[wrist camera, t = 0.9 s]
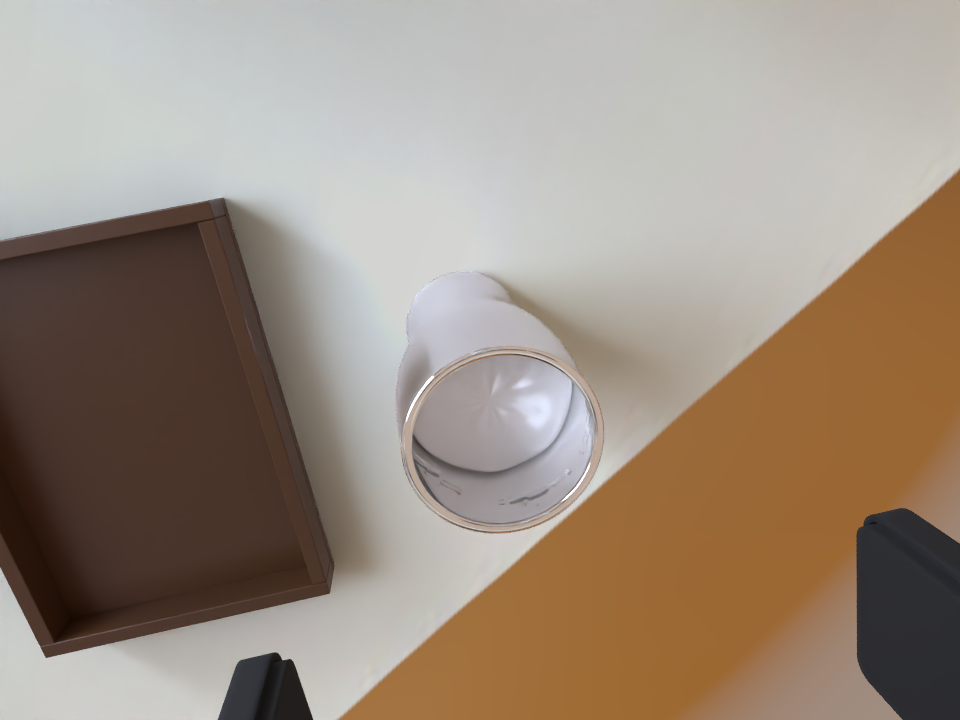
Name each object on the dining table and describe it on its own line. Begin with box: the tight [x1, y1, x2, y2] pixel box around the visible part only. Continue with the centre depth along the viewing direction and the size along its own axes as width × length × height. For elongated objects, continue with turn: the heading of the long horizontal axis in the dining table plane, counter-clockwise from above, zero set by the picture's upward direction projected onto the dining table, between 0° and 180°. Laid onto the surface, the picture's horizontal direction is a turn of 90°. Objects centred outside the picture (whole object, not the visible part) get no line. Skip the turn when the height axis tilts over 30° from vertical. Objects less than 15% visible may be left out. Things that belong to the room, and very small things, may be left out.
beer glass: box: [395, 271, 604, 533], centre depth 28 cm, size 7×7×15 cm
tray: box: [0, 198, 334, 658], centre depth 33 cm, size 22×16×3 cm
